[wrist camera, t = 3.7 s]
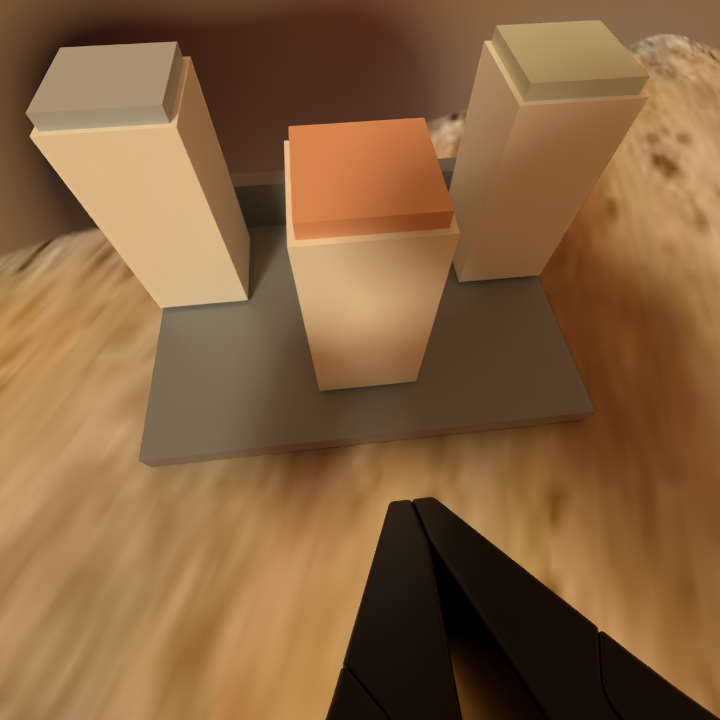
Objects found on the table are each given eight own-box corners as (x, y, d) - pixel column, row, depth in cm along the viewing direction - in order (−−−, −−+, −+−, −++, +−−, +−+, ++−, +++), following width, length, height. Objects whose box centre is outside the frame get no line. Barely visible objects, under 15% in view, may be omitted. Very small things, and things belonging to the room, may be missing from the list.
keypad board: (583, 420, 16) (634, 385, 13) (151, 466, 15) (99, 441, 12) (497, 209, 23) (519, 153, 20) (185, 234, 22) (156, 178, 19)
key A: (247, 300, 18) (168, 108, 10) (160, 307, 18) (15, 117, 10) (250, 238, 20) (184, 38, 12) (170, 244, 20) (55, 45, 12)
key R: (415, 381, 16) (465, 216, 9) (319, 391, 16) (283, 230, 8) (400, 303, 18) (429, 112, 10) (314, 311, 18) (280, 122, 10)
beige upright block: (539, 275, 19) (659, 79, 11) (458, 282, 18) (525, 87, 11) (515, 217, 21) (603, 17, 13) (441, 223, 20) (488, 23, 13)
